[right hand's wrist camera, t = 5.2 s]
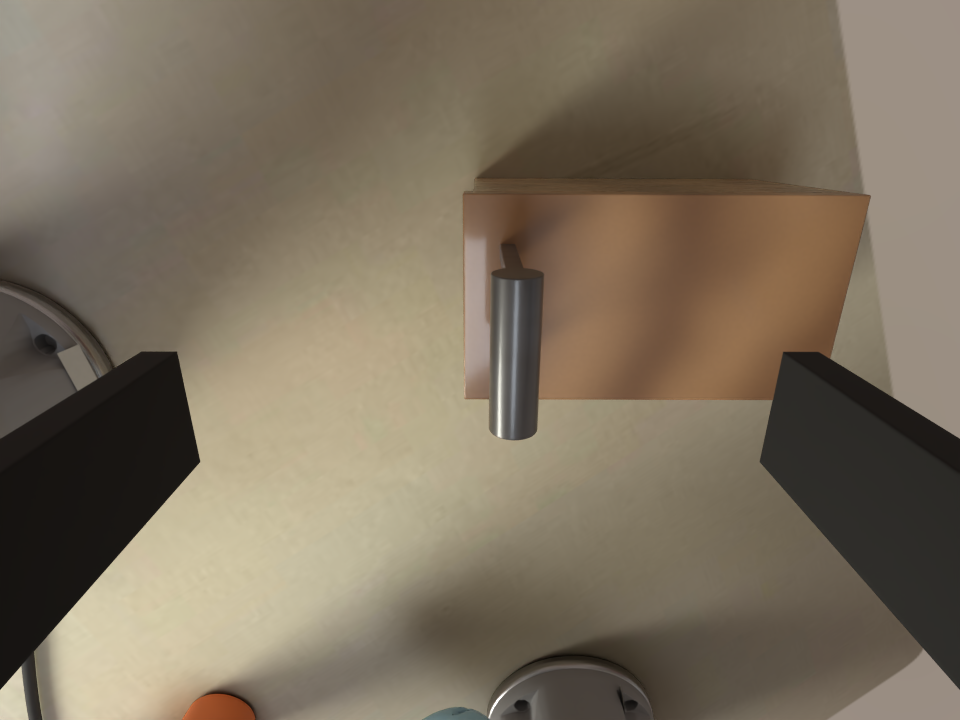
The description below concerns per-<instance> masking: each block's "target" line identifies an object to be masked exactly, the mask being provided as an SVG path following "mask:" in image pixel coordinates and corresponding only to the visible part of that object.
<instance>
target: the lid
mask: <svg viewBox="0 0 960 720" xmlns="http://www.w3.org/2000/svg"><path fill="white" fill-rule="evenodd" d="M870 197H871V196H870V195H865V194H858V193H757V192H521V191H464V193H463V283H464V398H465V399H489V430H490V432H491V433H492V434H493V435H495V436H497V437H499V438H502V439H507V440H522V439H527V438H529V437H531V436H533V435H534V434H535V433H536V431H537V421H538V400H539V399H628V400H773V397H774V392H775V388H776V383H777V378H778V373H779V369H780V364H781V359H782V355H783V352H820V353H821V354H823V355H825V356H826V357H828V358H829V359H830V357H831V353H832V349H833V345H834V341H835V337H836V333H837V329H838V325H839V321H840V317H841V313H842V309H843V305H844V301H845V297H846V293H847V289H848V285H849V281H850V277H851V273H852V269H853V265H854V261H855V257H856V253H857V249H858V245H859V241H860V237H861V233H862V229H863V225H864V221H865V217H866V213H867V210H868V206H869V202H870Z"/></svg>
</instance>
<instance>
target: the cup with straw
mask: <svg viewBox="0 0 960 720" xmlns="http://www.w3.org/2000/svg"><path fill="white" fill-rule="evenodd" d="M182 720H255V715H254V713H253V711H252V709H251V708H250V707H249V706H248V705H247V704H246V703H245V702H243V701H242V700H240V699H238V698H236V697H233V696H230V695H225V694H210V695H206V696H203V697H201V698H199V699H197V700H196V701H195V702H194V703H193V704H192V705H191V706H190V708H189V709H188V711H187V713H186V714H185V716H184V717H183V719H182Z"/></svg>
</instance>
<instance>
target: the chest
mask: <svg viewBox="0 0 960 720" xmlns="http://www.w3.org/2000/svg"><path fill="white" fill-rule="evenodd" d="M474 191H521V192H757V193H850V192H842V191H835V190H827V189H820V188H812V187H805V186H797V185H790V184H782V183H775V182H767V181H760V180H753V179H562V178H475V183H474Z"/></svg>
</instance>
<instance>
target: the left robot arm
mask: <svg viewBox="0 0 960 720" xmlns="http://www.w3.org/2000/svg"><path fill="white" fill-rule="evenodd" d="M423 720H654V718H653V712H652V708H651V705H650V702H649V699H648V696H647V693H646V691H645V689H644V687H643V686H642V684H641V683H640V682H639V681H638V680H637V678H636V677H634V676H633V675H632V674H631V673H630V672H628V671H627V670H625V669H624V668H622V667H620V666H618V665H616V664H614V663H611V662H609V661H606V660H602V659H598V658H593V657H586V656H561V657H554V658H548V659H544V660H541V661H538V662H535V663H532V664H530V665H527V666H525V667H523V668H521V669H519V670H518V671H516V672H515V673H513V674H512V675H510V676H509V677H508V678H507V679H505V680H504V681H503V682H502V683H501V684H500V686H499V687H498V688H497V689H496V691H495V692H494V694H493V696H492V698H491V700H490V703H489V706H488V711H487V717H486V716H485V715H483V714H482V713H480V712H478V711H476V710H473V709H467V708H464V707H453V708H448V709H444V710H441V711H438V712H436V713H433V714H431V715H429V716H428V717H426V718H424V719H423Z"/></svg>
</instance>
